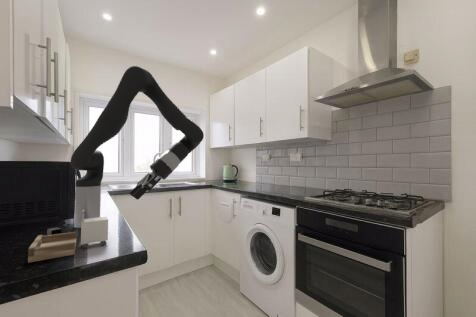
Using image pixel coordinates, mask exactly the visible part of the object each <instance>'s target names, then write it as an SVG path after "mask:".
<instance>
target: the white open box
mask: <svg viewBox="0 0 476 317" xmlns="http://www.w3.org/2000/svg"><path fill="white" fill-rule="evenodd" d="M108 240H109V218H108V216H100V217H99V218H90V219H84V210H82V221H81V228H80V245H82V249H83V250H86V249H88V248H89V244H92V243H93V244H94V243H99V242H100V245H101V246H102V247H104V246H106V245H107V241H108Z"/></svg>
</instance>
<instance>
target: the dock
mask: <svg viewBox="0 0 476 317" xmlns="http://www.w3.org/2000/svg"><path fill="white" fill-rule="evenodd" d="M77 236H78V231H69V232H62V233H61V234H54V235H47V234H46V235H44V234H39V235H37V237H35V239H34V241H33V242H32V243H31V244H30V246H29V247H28V249H27V263H28V264H29V263H33V262H40V261H45V260H50V259H56V258H62V257H67V256H68V257H69V256H74V255H75V254H76V247H77V238H78V237H77Z"/></svg>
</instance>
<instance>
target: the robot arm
mask: <svg viewBox="0 0 476 317" xmlns="http://www.w3.org/2000/svg"><path fill="white" fill-rule="evenodd" d="M139 93H142V94H143V95H145V96H146V97H147V98H149V99H150V100H151V102H152V103H154V105H155V106H156V107H157V109H158V111H159V112H160V114H161V116H162V117H163V118H164V119H165V120H166V122H168V124H170V126H171V127H172V128H173V129H174V130H176V131H180V132H181V133H183V135H184V136H183V137H182V138H181V139H179V141H178V142H175V143H174V144H172V146H170V147H169V148H168V149H167V150H166V151H165V152H163V153H162V154H160V156H159V157H158V158H157V159H156V160H155V161H154V162H152V164H150V166H149V169H150V170H151V171H152V172H150V173H149V172H148V173H146V175H144V177H142V179H140V180H139V181H138V182H137V183H136V186H135V187H134V188H132V190H130V191H129V196H131V197H133V198H134V199H135V200H139V199H140V198H141V197H142V196H144V195H145V194H146V192H150V191H152V189H153V188H154V187H155V186H156V185H157V184H158V183H159V182H160V181H161V180H166V179H168V177H170V175H171V174H172V173H173V172H174V171H175V170H176V169H177V168H178V167H179V165H180V164H181V163H182V162H183V161H184V160H185V159H186V158H187V157H188V155H189V154H190V153H191V152H193V151H194V150H195V149H196V148H197V147H198V146H199V145H200V144H201V142H202V141H203V140H204V136H205V135H204V132H203V130H202V128H201V127H200V126H199V124H197V123H195V122H193V121H192V120H191V119H189V118H188V117H187V116H186V115H185V113H183V111H182V110H181V109H180V108H179V107H178V106H177V105H176V104H175V103H174V102H173V101H172V100H171V98H170V97H168V95H167V94H165V91H164V90H163V89H162V87H161V86H160V84H159V83H158V82H157V80H156V79H155V77H154V76H153V75H152V74H151V72H150V71H149V70H147V69H145V68H142V67H141V66H137V65H135V66H134V65H133V66H129V67H128V68H127V69H126V70H125V71H124V73H123V75H122V77H121V79H120V81H119V83H118V85H117V87H116V89H115V91H114V93H113V94H112V96H111V98H110V99H109V101H108V103H107V104H106V106H105V107H104V109H103V110H102V112H101V113H100V115H99V116H98V118H97V120H96V121H95V123H94V125H93V126H92V128H91V129H90V131H89V132H88V134H87V135H86V136H85V138H83V140H82V141H81V143H79V145H78V146H77V147H76V149H75V150H74V151H73V153H72V154H71V157H70V166H71V167H72V169H74V170H76V171H86V173H85V174H84V175H83V176H82V177H80V178H78V179H76V180H75V189H74V190H75V193H74V194H75V196H74V228H75V229H81V221H82V210H84V219H90V218H99V217H101V199H102V198H101V196H102V195H101V194H102V193H101V192H102V191H101V190H102V188H101V187H102V181H103V179H104V178H103V177H104V169H105V168H104V167H105V158H104V157H105V156H104V155H103V153H102V151H100V150H99V149H98V148H99V147H101V146H102V145H103V144H105V143H107V141H110V140H111V139H113V138H114V137H116V136H117V135H118V134H119V133H120V131H121V130H122V129H123V127H124V126H125V124H126V122H127V120H128V118H129V112H130V107H131V104H132V103H133V101H134V99H135V98H136V97H137V95H138V94H139Z"/></svg>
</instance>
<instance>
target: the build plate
mask: <svg viewBox="0 0 476 317" xmlns="http://www.w3.org/2000/svg"><path fill="white" fill-rule="evenodd" d="M61 233H63V231H62V228H60V227H51V228H47V230H46V235H54V234H61Z"/></svg>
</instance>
